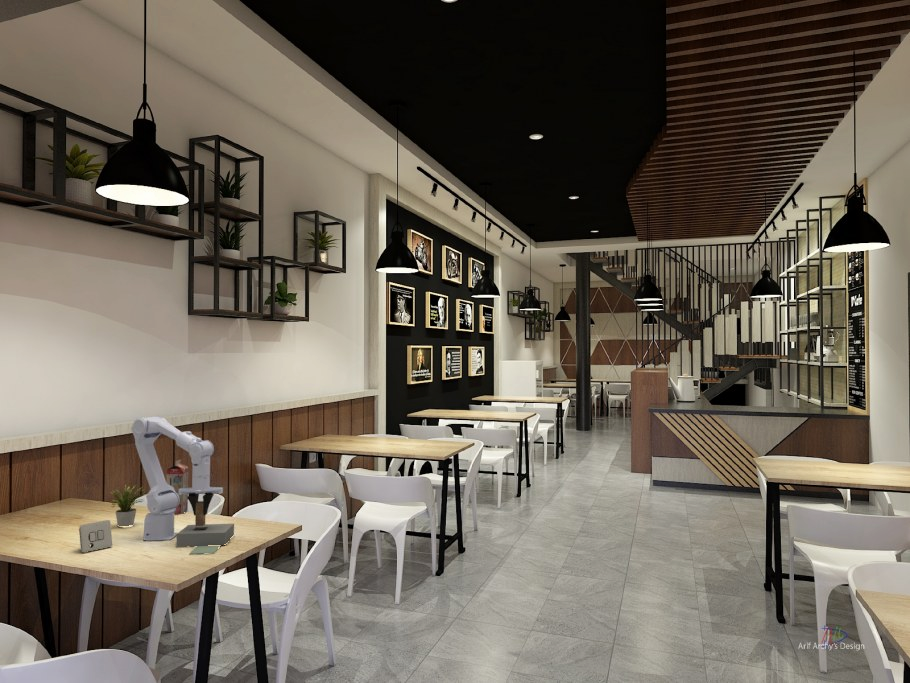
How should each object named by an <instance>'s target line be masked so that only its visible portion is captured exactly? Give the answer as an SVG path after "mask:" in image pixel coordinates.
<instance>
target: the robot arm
mask: <svg viewBox="0 0 910 683" xmlns="http://www.w3.org/2000/svg"><path fill="white" fill-rule="evenodd" d="M131 431H132V432H131V433H132V435H133V437H134V442H135V443H134V444H135V449H136V451H137V454H138V456H139V457H138V458H139V459H140V463H141V465H142V469H143V471H144V474H145V477H146V480H147V482H148V485H149V488H150V490H149V491H148V493H147V495H145V497H146V498H145V499H146V502H147V504H146V505H147V510H148V513H146V515H145V517H144V520H143V521H144V522H143V539H142V540H146V541H169V540H173V538H175V537H177V533H178V532H175V515H174V511H176V508H177V507H178V505H179V502H180V498H179V496H178V494H177V493H176V492H175V490H174V487H172V486H170V485H168V484H167V479H166V478H165V477H166V476H165V474H164V472H163V468H162V465H161V462H160V460H159V457H158V455H157V451H156V449H155V446H154V443H155V441H156V440H158V438H159V436H161V435H164V436H167V438H170V439H171V440H174V441H175V445H177V447H179V448H181V449H182V450H184V451H186V452H187V453H188V455H189V457H190V459H191V463H192V478H191V479H192V481H191V484H192V486H191V487H188V488H180V489H179V495H182V494H188V497H187V498H188V503H190V506H191V509H192V512H193V516H196V502H198V501H199V496H200V495H202V501H203V504H204V508H203V515H205V516H206V515H208V510H209V507H210V503H211V501H212V499H213V497H214V495H215V494H217V495H218V494H219V495H222V494H223V493H224V487H219V486H216V487H215V486H210V485H211V482H210V481H211V456H212V455H213V454H214V451H215V448H214V444H213V443H212V442H211V440H208V439H206V440H202V438H201V437H197V436H196V435H195V434H192V431H189V430H188V431H187V430H186V431H181V430H179V429H178V428H176V427H175V426H174V425H172V424H171V423H169V422H168V420H167V419H166V418H163V416H161V415H156V416H149V417H148V416H147V417H137V418H135V420H134V421H133V423H132V426H131Z"/></svg>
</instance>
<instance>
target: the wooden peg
mask: <svg viewBox="0 0 910 683" xmlns="http://www.w3.org/2000/svg"><path fill="white" fill-rule="evenodd" d="M203 508H204V504H203V500H200V501H199V500H198V502H196V515H195V519H194V520H195V521H194V522H195V524H194V525H195V526H203V525H205V524H206V515H203Z"/></svg>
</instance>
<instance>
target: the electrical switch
mask: <svg viewBox="0 0 910 683" xmlns="http://www.w3.org/2000/svg"><path fill="white" fill-rule="evenodd" d="M78 531H79V541H80V542H79V543H80V544H79V545H80V552H81V553H82V552H87V551H92V552H94V551H93V550H97V551H99V550H98V549H101V550H104V549H103V548H106V549H108V548H107V547H110V548H112V547H113V537H112V536H113V535H112V526H111V520H110V519H105V520H100V521H94V522H89V523H83V524H80V525H79V528H78ZM111 546H112V547H111Z"/></svg>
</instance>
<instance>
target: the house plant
mask: <svg viewBox="0 0 910 683" xmlns="http://www.w3.org/2000/svg"><path fill="white" fill-rule="evenodd" d="M136 485H137V484H135V485H133V487H132V488H131V489H130V487H131V486H128V487H127V484H125V485H124V494H123V493H122V492H121V490H120V489H115V490H112V491H109V493H110V494H111V495H113V496H114V497H115V498H116V499H112V500H111V502H114V503H111V507H112V508H115V506H117V507H118V508H120V509H117V510H115V516H116V517H115V518H116V521H117V522H116V523H117V526H118V525H119V526H129V525H133V524H134V523H135V520H136V515H137V514H136V513H137V509H136V508H133V506H135V504H137V503H143V502H145V499H143V498H142V497H144V496H147V494H148V493H147V494H144V493H143V494H140V493H141V492H142V490H141V489H143V488H144V486H142V487H139V488H138V489H137V490H135V492H134V493H133V494H132V495H131V493H132V492H133V490H134V489H135V488H136ZM115 491H116V492H117V493H116V492H115ZM144 491H146V489H144ZM137 494H139V495H137ZM140 498H141V499H140ZM133 526H134V525H133Z"/></svg>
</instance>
